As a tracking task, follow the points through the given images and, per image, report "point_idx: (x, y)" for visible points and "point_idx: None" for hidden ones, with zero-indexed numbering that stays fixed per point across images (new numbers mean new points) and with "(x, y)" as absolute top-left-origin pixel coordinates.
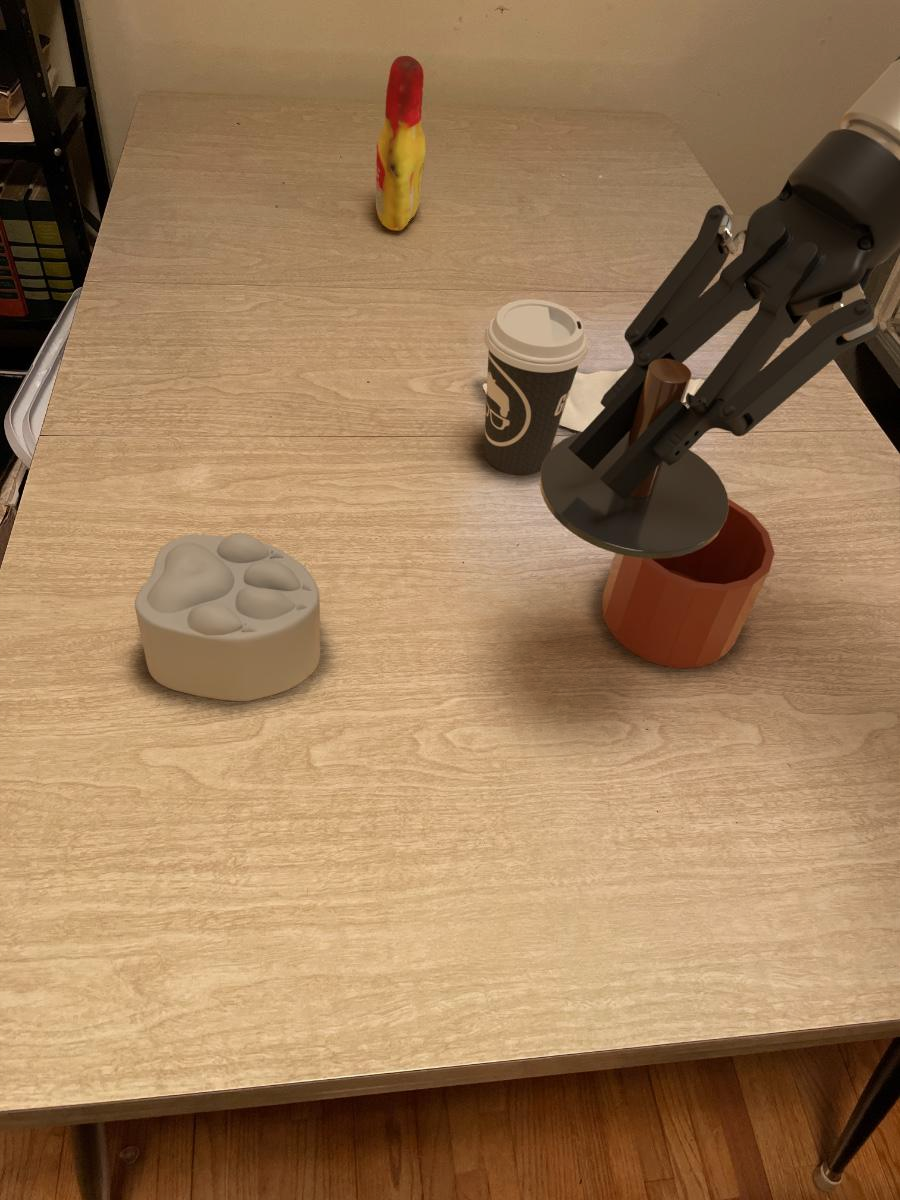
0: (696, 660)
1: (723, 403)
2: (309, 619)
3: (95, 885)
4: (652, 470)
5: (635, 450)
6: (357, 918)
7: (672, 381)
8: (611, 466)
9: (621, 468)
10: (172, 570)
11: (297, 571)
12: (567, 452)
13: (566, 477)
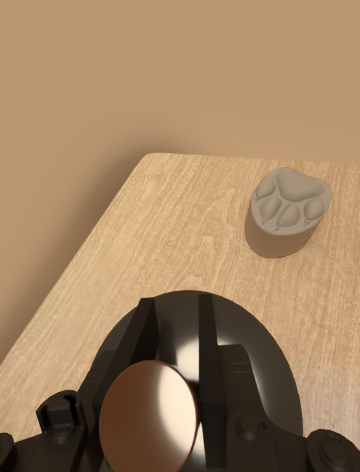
0: None
1: (2, 462)
2: (257, 227)
3: (191, 171)
4: None
5: (133, 325)
6: (141, 228)
7: (114, 388)
8: (149, 306)
9: (136, 310)
10: (299, 175)
11: (291, 228)
12: (263, 353)
13: (225, 326)
